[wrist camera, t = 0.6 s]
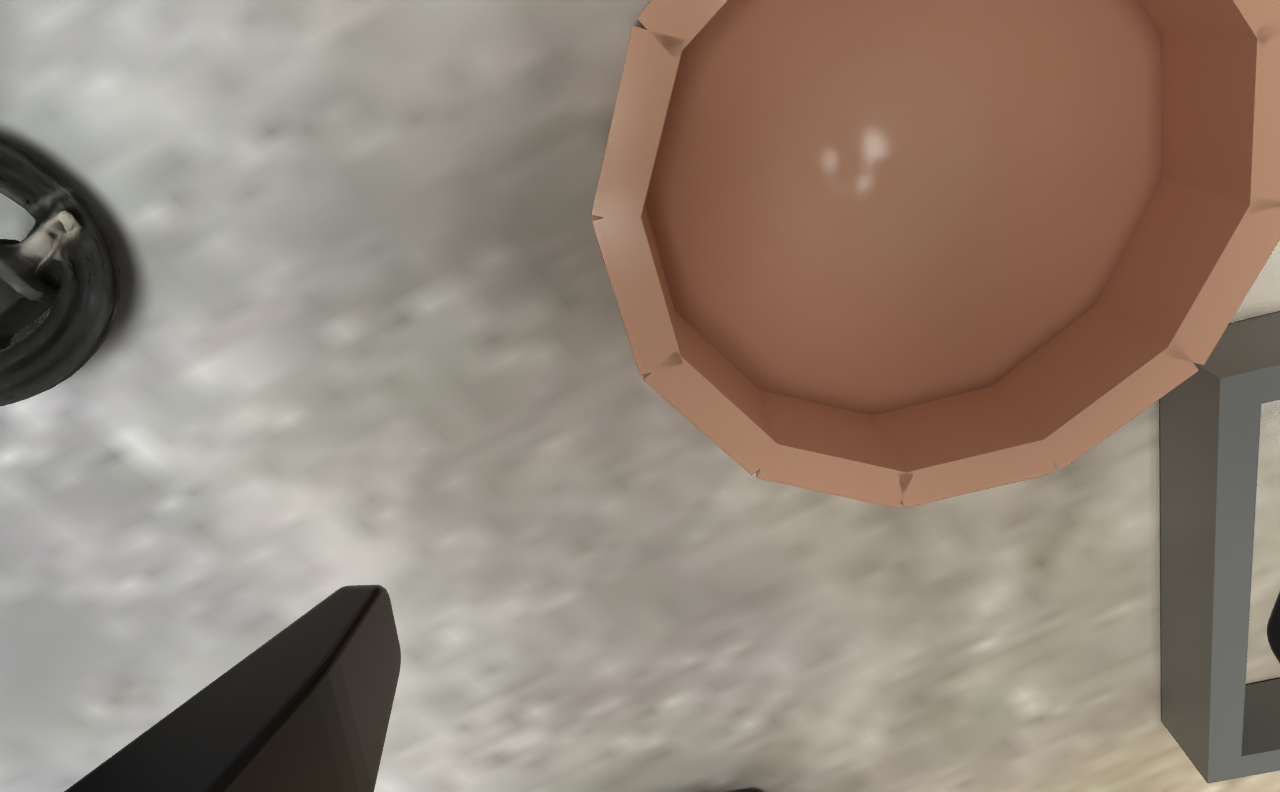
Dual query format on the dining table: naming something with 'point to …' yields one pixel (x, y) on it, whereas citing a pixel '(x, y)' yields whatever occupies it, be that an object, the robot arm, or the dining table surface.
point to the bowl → (935, 224)
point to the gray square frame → (1216, 555)
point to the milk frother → (51, 281)
